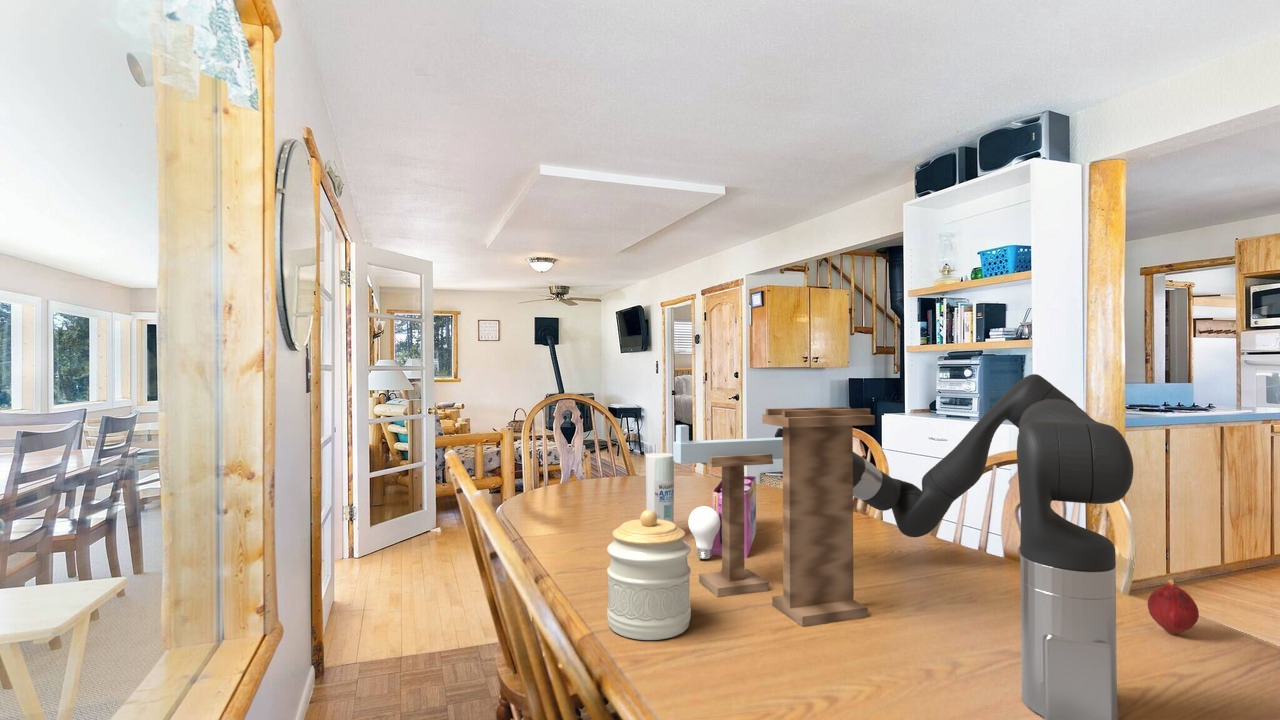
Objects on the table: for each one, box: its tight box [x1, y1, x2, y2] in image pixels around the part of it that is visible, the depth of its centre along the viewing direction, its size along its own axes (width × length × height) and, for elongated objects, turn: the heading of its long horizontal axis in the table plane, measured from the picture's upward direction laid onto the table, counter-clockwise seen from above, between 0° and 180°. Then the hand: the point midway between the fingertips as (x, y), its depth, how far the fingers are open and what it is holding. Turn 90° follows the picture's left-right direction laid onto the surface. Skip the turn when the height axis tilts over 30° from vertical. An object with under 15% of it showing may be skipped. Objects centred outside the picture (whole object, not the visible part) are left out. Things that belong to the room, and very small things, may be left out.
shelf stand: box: [761, 406, 876, 627], centre depth 103 cm, size 16×9×33 cm, turn 108°
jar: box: [606, 509, 692, 641], centre depth 98 cm, size 13×13×18 cm
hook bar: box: [672, 424, 783, 465], centre depth 116 cm, size 26×4×6 cm, turn 108°
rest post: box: [698, 454, 774, 598], centre depth 115 cm, size 12×8×24 cm, turn 108°
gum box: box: [711, 475, 757, 559], centre depth 143 cm, size 24×8×14 cm, turn 165°
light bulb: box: [687, 505, 720, 561], centre depth 131 cm, size 7×7×11 cm
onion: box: [1147, 578, 1200, 635], centre depth 94 cm, size 6×6×8 cm
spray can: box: [645, 452, 675, 524], centre depth 144 cm, size 6×6×20 cm
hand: (788, 434), depth 119 cm, fingers open, 8 cm apart
